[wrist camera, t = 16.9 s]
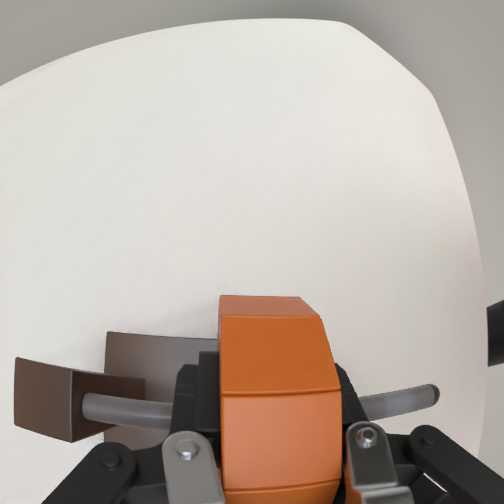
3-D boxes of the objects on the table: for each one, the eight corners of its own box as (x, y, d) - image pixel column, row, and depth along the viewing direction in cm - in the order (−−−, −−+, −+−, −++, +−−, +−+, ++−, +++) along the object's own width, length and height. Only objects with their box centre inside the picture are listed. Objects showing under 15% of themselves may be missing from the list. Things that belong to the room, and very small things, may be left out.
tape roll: (271, 326, 17) (332, 260, 8) (272, 487, 13) (334, 573, 4) (217, 325, 17) (223, 255, 8) (218, 489, 13) (227, 586, 4)
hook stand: (107, 447, 19) (13, 492, 6) (109, 332, 23) (18, 275, 10) (343, 449, 21) (452, 485, 9) (340, 339, 25) (444, 289, 13)
